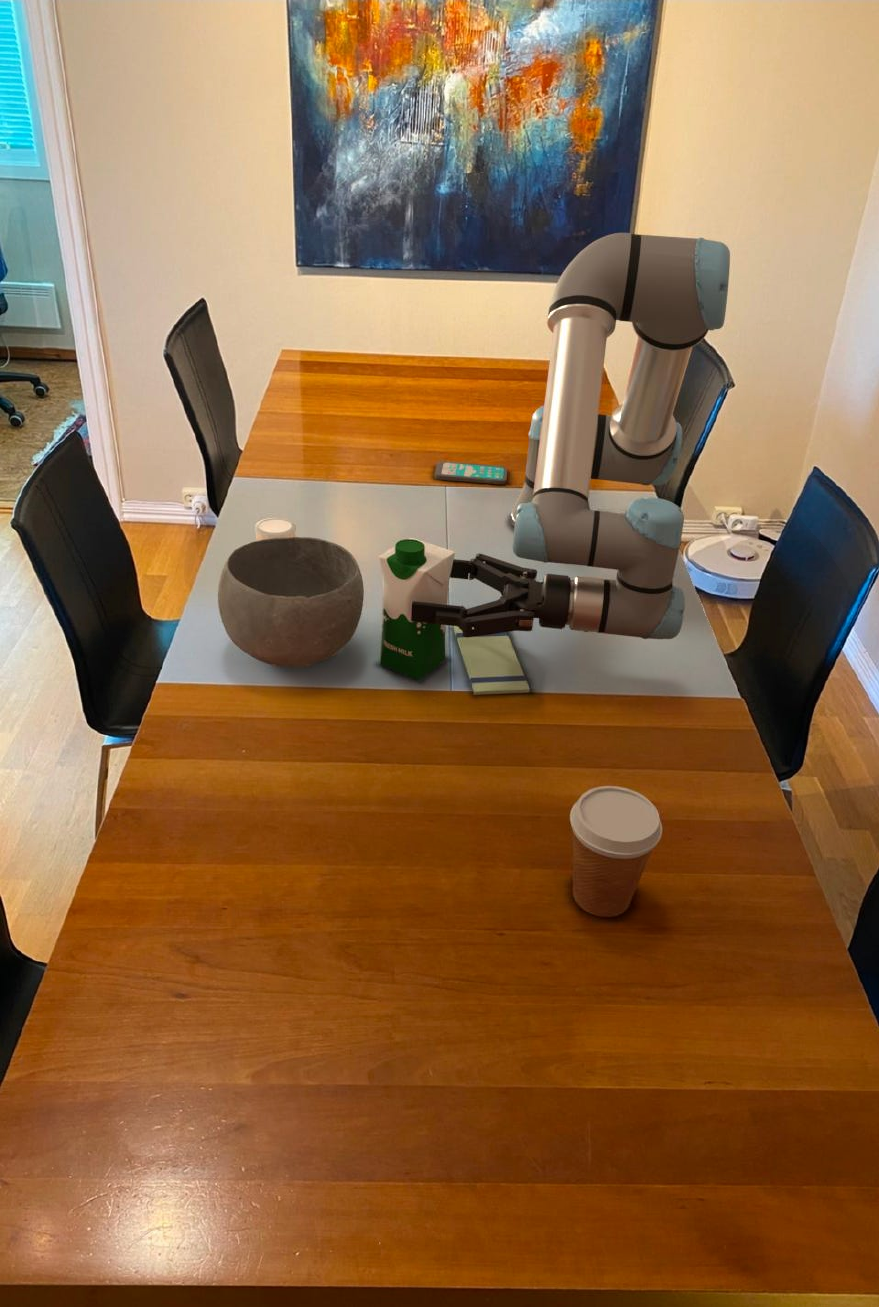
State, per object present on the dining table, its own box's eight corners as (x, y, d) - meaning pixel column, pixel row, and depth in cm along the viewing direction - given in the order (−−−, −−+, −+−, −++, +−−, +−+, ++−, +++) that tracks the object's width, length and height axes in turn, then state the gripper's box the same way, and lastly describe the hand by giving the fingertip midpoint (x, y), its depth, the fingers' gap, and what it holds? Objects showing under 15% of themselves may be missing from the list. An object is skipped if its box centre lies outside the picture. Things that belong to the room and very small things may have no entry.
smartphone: (437, 459, 211) (507, 465, 210) (437, 464, 212) (507, 469, 211) (434, 475, 204) (506, 480, 203) (433, 479, 204) (505, 485, 204)
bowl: (248, 704, 134) (242, 609, 126) (205, 632, 149) (197, 543, 141) (385, 672, 143) (387, 581, 135) (331, 607, 158) (331, 521, 150)
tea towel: (503, 627, 155) (504, 624, 155) (529, 692, 140) (530, 688, 140) (453, 629, 154) (453, 625, 154) (474, 695, 139) (474, 691, 139)
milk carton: (371, 665, 144) (373, 542, 133) (405, 640, 151) (410, 520, 140) (421, 686, 140) (427, 561, 129) (454, 658, 147) (463, 537, 136)
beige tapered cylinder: (289, 574, 166) (288, 536, 163) (250, 568, 167) (248, 531, 164) (302, 556, 172) (301, 520, 168) (264, 551, 173) (263, 514, 169)
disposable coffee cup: (550, 865, 111) (563, 783, 105) (633, 863, 112) (650, 782, 106) (567, 930, 103) (581, 846, 97) (655, 927, 104) (675, 844, 98)
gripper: (565, 674, 129) (404, 656, 130) (566, 584, 150) (428, 570, 151) (572, 624, 125) (406, 607, 126) (572, 540, 146) (430, 526, 147)
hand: (418, 587), depth 139 cm, fingers open, 13 cm apart
